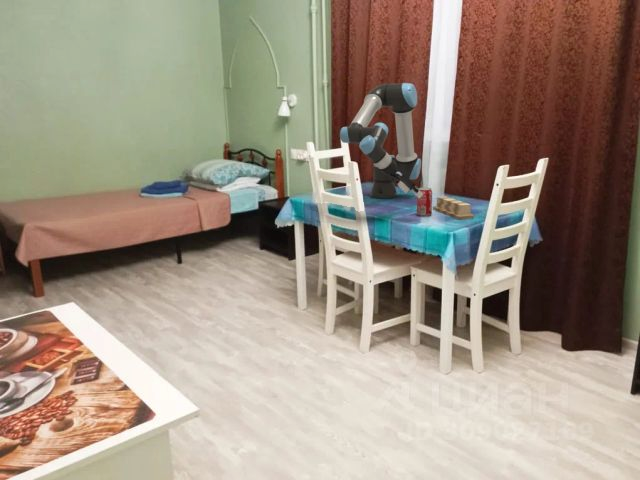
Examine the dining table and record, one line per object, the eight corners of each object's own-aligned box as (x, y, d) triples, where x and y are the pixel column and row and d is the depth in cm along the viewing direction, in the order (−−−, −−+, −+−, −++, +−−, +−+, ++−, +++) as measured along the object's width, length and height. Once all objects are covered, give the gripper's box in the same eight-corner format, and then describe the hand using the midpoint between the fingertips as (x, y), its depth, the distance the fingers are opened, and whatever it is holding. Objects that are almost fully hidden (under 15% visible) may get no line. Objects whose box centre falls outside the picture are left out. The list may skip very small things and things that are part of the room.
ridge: (432, 209, 262) (433, 196, 260) (446, 208, 264) (447, 195, 262) (459, 219, 240) (459, 206, 238) (473, 218, 242) (474, 204, 240)
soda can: (431, 216, 246) (432, 190, 243) (416, 216, 248) (417, 189, 244) (431, 213, 253) (432, 187, 250) (416, 213, 254) (417, 187, 251)
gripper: (369, 166, 248) (397, 195, 256) (392, 173, 225) (421, 204, 233) (380, 154, 248) (407, 183, 256) (403, 160, 225) (432, 192, 233)
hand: (414, 193), depth 245 cm, fingers open, 13 cm apart
